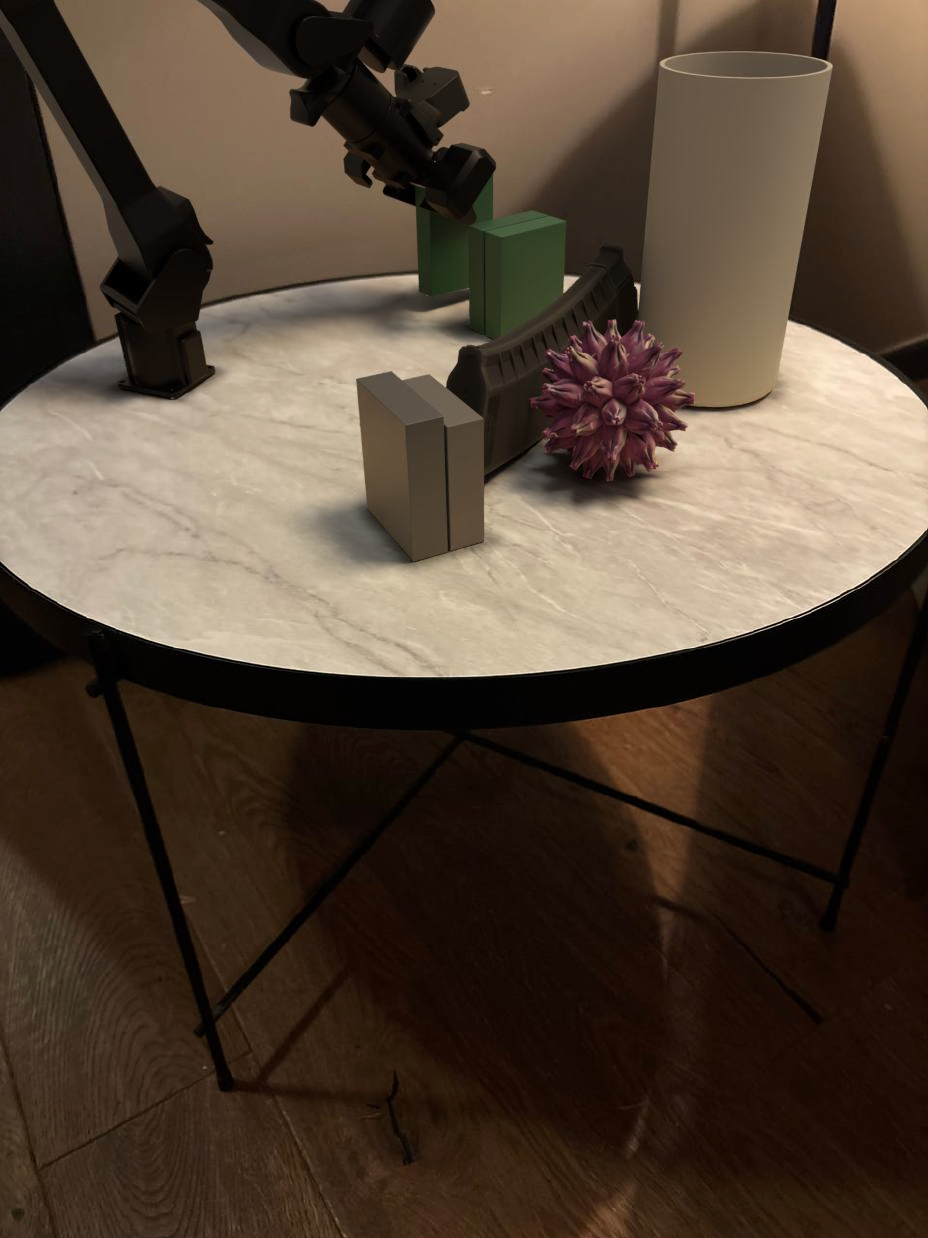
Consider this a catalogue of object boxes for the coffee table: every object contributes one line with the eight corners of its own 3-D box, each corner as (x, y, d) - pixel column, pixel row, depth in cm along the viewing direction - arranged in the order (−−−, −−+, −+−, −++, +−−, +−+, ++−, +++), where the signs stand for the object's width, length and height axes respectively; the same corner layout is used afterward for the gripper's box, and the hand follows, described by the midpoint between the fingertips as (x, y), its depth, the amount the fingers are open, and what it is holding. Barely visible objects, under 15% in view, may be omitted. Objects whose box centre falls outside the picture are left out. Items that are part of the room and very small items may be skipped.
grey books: (366, 508, 74) (355, 378, 68) (434, 490, 76) (428, 362, 70) (413, 562, 68) (405, 425, 62) (484, 541, 70) (483, 406, 64)
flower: (517, 469, 81) (643, 410, 84) (596, 534, 72) (734, 466, 75) (487, 335, 74) (625, 276, 76) (570, 389, 65) (724, 320, 67)
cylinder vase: (634, 408, 86) (663, 78, 71) (630, 351, 96) (656, 51, 81) (785, 413, 85) (847, 78, 70) (766, 355, 95) (817, 50, 80)
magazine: (453, 399, 67) (635, 164, 81) (412, 389, 68) (598, 159, 83) (490, 569, 80) (641, 340, 95) (455, 558, 82) (609, 334, 96)
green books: (500, 342, 98) (500, 236, 92) (469, 328, 102) (467, 224, 96) (562, 323, 102) (566, 220, 96) (530, 310, 105) (532, 209, 100)
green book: (431, 297, 105) (428, 179, 98) (418, 291, 106) (414, 174, 99) (492, 281, 109) (493, 166, 102) (479, 276, 110) (478, 162, 103)
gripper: (478, 48, 85) (570, 167, 97) (359, 27, 98) (454, 136, 109) (406, 162, 86) (506, 267, 98) (297, 128, 99) (398, 225, 110)
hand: (465, 219), depth 104 cm, fingers closed on green book, 2 cm apart
